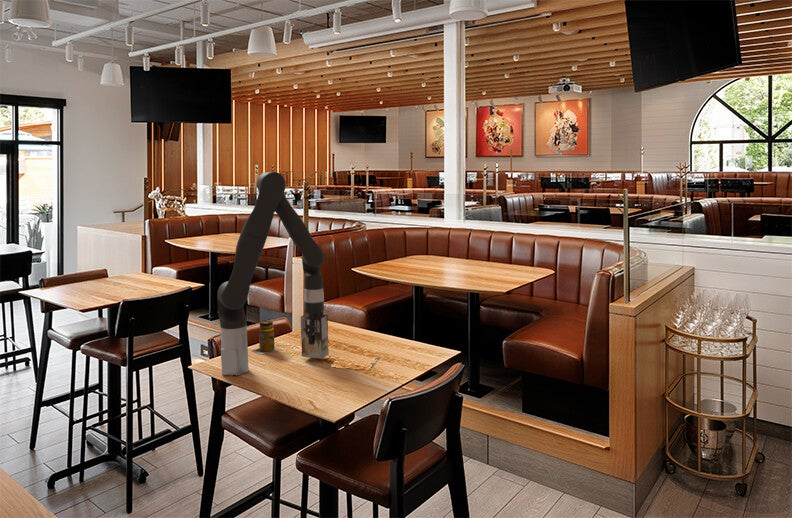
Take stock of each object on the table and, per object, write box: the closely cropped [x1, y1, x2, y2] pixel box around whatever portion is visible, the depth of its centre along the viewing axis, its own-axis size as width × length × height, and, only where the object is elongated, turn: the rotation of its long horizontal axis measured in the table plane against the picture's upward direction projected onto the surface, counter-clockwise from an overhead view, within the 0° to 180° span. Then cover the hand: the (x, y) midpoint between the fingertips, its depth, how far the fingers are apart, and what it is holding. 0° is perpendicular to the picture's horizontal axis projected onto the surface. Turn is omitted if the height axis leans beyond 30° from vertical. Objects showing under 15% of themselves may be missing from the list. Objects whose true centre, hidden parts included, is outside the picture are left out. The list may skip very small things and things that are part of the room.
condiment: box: [251, 320, 279, 355], centre depth 235 cm, size 7×8×12 cm
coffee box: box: [300, 312, 330, 359], centre depth 223 cm, size 9×6×16 cm
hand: (315, 341), depth 223 cm, fingers closed on coffee box, 6 cm apart
